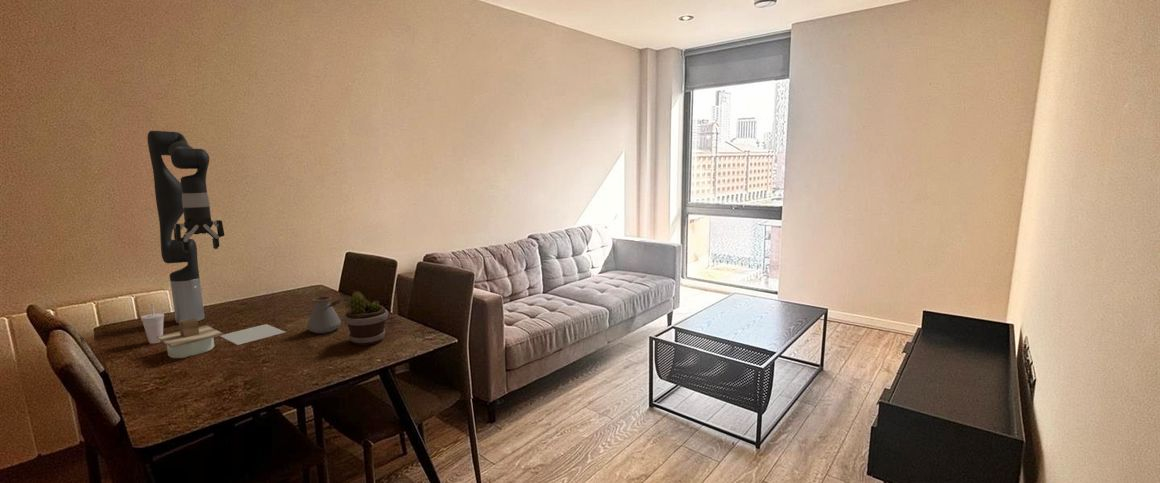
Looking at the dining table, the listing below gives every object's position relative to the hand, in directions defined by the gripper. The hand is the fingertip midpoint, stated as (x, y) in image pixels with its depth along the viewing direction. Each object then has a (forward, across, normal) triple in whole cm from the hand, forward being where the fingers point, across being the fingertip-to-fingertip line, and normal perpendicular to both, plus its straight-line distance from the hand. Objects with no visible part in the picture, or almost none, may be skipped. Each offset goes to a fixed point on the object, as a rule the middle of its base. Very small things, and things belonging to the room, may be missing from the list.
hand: (201, 250), depth 176 cm
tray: (+32, -9, +12) cm, 35 cm away
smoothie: (+32, +14, -9) cm, 36 cm away
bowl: (+32, +10, +12) cm, 36 cm away
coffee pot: (+32, -26, +34) cm, 54 cm away
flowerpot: (+32, -30, +52) cm, 68 cm away
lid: (+27, +10, +12) cm, 31 cm away
